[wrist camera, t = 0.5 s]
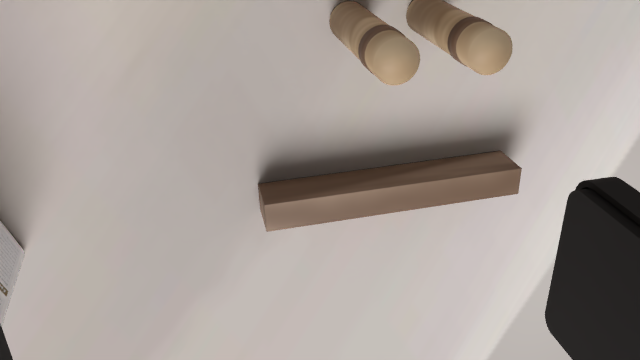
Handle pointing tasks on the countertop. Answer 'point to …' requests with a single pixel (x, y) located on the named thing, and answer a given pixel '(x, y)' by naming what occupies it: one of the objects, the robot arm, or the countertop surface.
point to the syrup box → (8, 267)
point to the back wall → (386, 189)
